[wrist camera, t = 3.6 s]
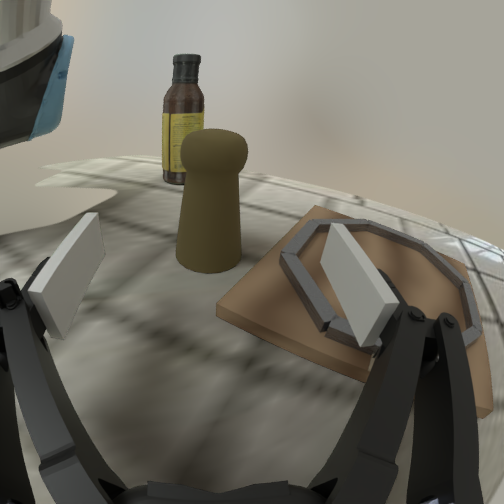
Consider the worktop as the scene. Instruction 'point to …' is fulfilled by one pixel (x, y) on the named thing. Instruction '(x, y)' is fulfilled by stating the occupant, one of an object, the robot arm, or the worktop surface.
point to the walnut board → (303, 328)
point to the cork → (211, 200)
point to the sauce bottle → (181, 114)
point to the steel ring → (321, 307)
